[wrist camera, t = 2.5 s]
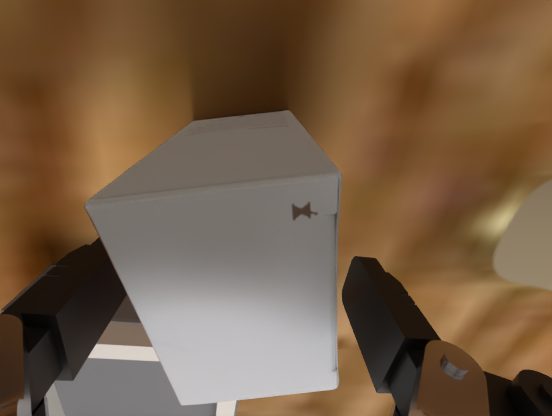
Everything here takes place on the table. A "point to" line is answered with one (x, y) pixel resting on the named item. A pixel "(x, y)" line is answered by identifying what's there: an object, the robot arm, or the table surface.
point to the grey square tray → (123, 376)
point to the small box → (231, 256)
